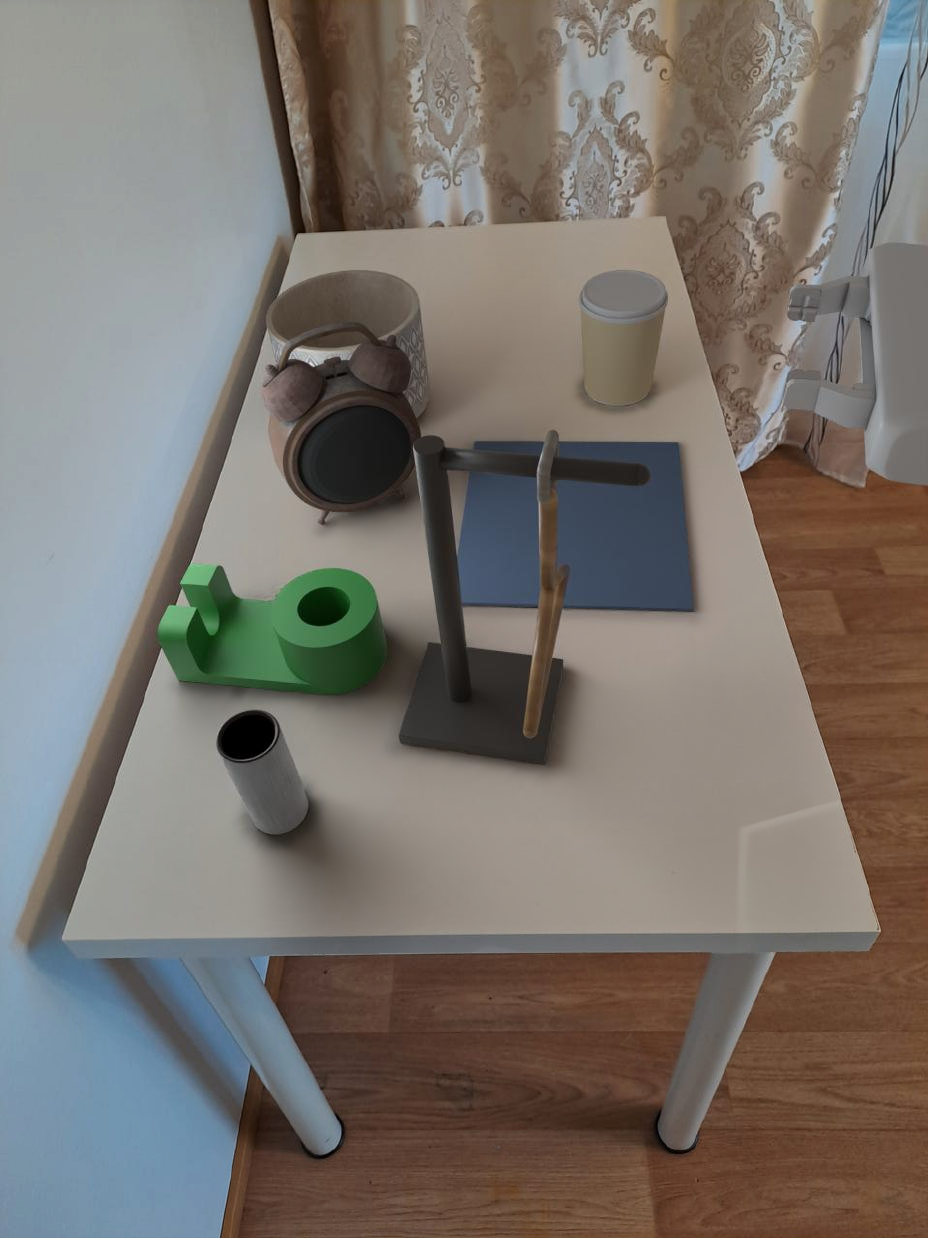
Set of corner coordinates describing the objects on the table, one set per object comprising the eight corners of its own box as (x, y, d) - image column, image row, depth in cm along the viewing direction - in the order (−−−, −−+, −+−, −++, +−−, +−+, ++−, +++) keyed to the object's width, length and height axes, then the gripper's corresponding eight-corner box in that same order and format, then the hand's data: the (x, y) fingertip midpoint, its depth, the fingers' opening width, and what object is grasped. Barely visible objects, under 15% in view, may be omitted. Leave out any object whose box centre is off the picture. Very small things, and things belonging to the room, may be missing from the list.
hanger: (572, 570, 74) (577, 369, 60) (537, 742, 63) (534, 545, 49) (557, 568, 74) (559, 368, 60) (520, 739, 63) (512, 543, 49)
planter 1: (262, 845, 69) (226, 773, 61) (243, 799, 72) (207, 725, 64) (317, 818, 70) (289, 744, 62) (297, 775, 73) (267, 699, 65)
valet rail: (630, 676, 77) (658, 412, 57) (617, 776, 71) (644, 519, 50) (429, 650, 80) (389, 393, 60) (399, 743, 74) (343, 491, 54)
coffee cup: (656, 363, 107) (666, 267, 98) (660, 410, 101) (671, 312, 92) (577, 363, 108) (580, 268, 99) (576, 410, 102) (578, 313, 93)
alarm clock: (302, 545, 91) (253, 373, 76) (285, 502, 95) (235, 332, 80) (437, 502, 93) (416, 328, 79) (414, 463, 98) (390, 291, 83)
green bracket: (396, 620, 83) (387, 571, 78) (374, 699, 77) (362, 652, 72) (213, 605, 86) (193, 557, 81) (178, 680, 80) (154, 633, 75)
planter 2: (283, 383, 110) (258, 285, 100) (414, 356, 112) (401, 258, 102) (301, 465, 99) (274, 364, 90) (445, 433, 101) (434, 331, 92)
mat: (678, 444, 97) (678, 441, 97) (692, 611, 81) (693, 608, 81) (474, 443, 100) (474, 440, 99) (450, 605, 84) (450, 602, 84)
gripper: (1030, 221, 57) (799, 212, 60) (1090, 422, 44) (794, 398, 47) (993, 312, 62) (781, 299, 65) (1037, 517, 49) (772, 489, 52)
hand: (786, 342), depth 56 cm, fingers open, 8 cm apart
